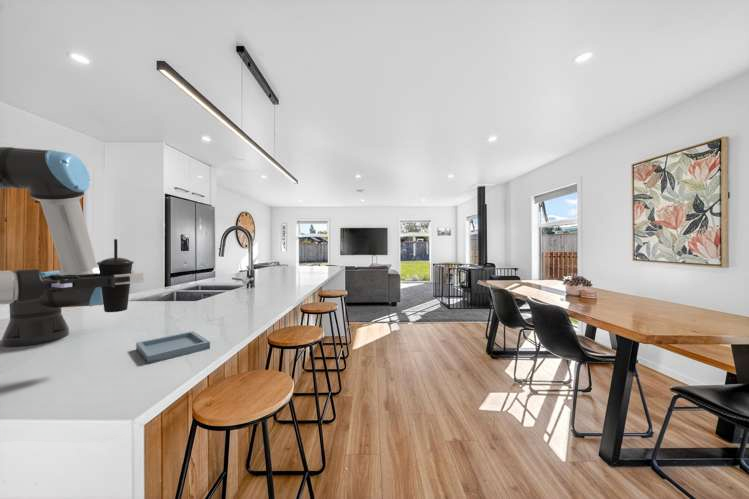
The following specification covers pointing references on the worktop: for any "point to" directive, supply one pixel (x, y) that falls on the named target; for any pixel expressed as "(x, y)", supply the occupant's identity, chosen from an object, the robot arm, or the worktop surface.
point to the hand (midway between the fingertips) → (138, 276)
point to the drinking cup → (119, 295)
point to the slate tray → (171, 346)
